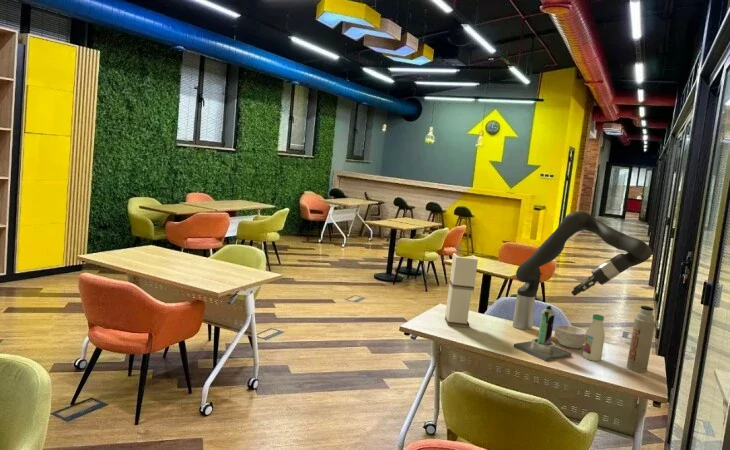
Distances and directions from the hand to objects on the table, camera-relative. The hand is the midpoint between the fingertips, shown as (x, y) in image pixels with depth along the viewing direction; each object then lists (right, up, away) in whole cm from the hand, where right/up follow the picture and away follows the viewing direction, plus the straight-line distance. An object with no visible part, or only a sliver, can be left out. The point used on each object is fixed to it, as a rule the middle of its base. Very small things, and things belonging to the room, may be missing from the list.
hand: (573, 292), depth 244 cm
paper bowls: (+6, -28, +22) cm, 36 cm away
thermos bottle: (+26, -33, -3) cm, 43 cm away
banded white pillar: (-46, -21, +38) cm, 63 cm away
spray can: (-11, -27, +7) cm, 30 cm away
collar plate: (-12, -28, +7) cm, 31 cm away
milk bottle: (+10, -31, +5) cm, 33 cm away
